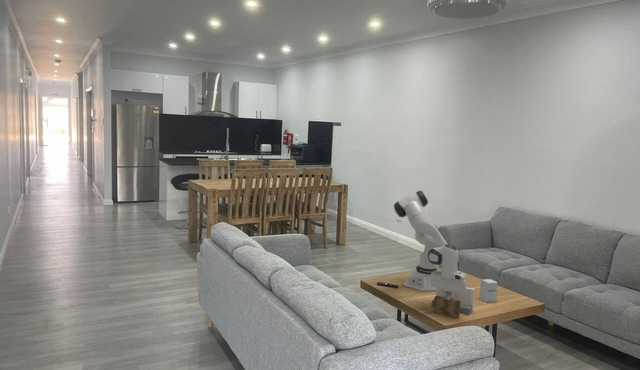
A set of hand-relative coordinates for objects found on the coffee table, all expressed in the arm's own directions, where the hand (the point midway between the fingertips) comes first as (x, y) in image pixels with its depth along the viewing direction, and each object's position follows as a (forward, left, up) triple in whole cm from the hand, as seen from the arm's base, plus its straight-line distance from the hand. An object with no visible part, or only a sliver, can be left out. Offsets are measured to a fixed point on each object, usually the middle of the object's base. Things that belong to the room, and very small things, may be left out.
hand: (447, 297), depth 265 cm
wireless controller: (-15, +65, -10) cm, 67 cm away
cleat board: (0, +11, -10) cm, 15 cm away
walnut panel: (0, 0, -10) cm, 10 cm away
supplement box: (+14, +40, -10) cm, 44 cm away
